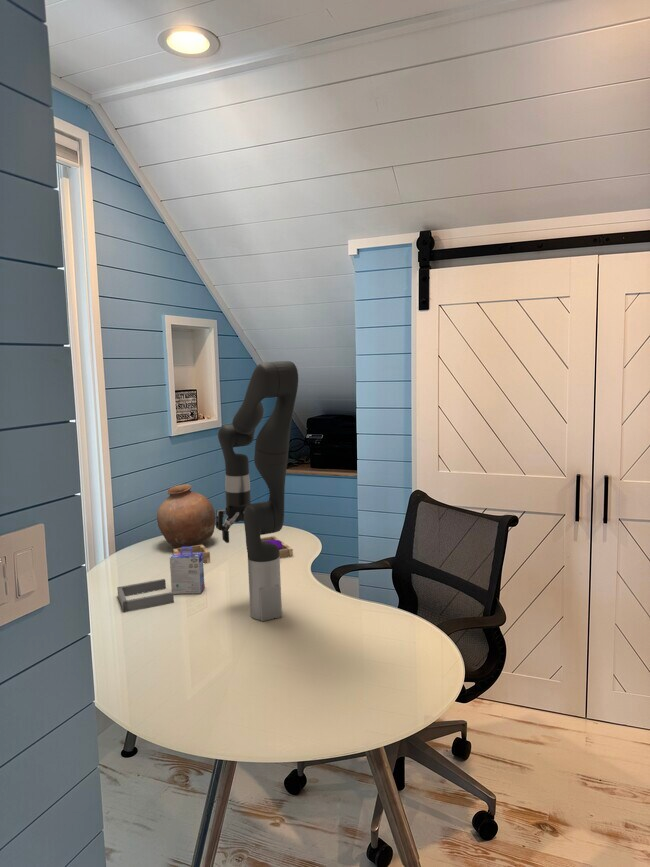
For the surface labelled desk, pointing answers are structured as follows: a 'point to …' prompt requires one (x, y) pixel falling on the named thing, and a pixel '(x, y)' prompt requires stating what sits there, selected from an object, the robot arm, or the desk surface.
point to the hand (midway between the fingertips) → (239, 539)
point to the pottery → (186, 517)
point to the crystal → (276, 542)
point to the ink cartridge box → (187, 572)
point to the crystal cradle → (285, 550)
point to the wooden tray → (196, 550)
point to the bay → (144, 601)
